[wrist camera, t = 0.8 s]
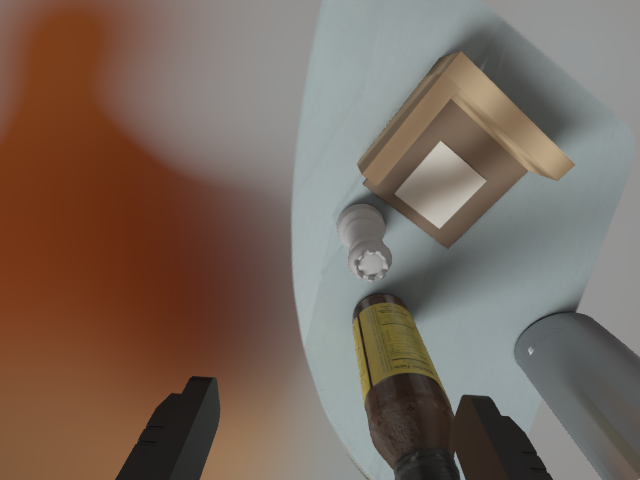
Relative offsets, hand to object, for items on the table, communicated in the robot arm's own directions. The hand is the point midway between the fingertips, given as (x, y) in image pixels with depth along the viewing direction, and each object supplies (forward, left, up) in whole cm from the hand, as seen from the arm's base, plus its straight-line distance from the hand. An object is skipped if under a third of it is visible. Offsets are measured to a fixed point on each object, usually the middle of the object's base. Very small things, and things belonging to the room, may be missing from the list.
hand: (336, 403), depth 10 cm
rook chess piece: (-3, 0, -20) cm, 20 cm away
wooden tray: (-6, -9, -20) cm, 23 cm away
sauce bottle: (-12, +6, -20) cm, 24 cm away
